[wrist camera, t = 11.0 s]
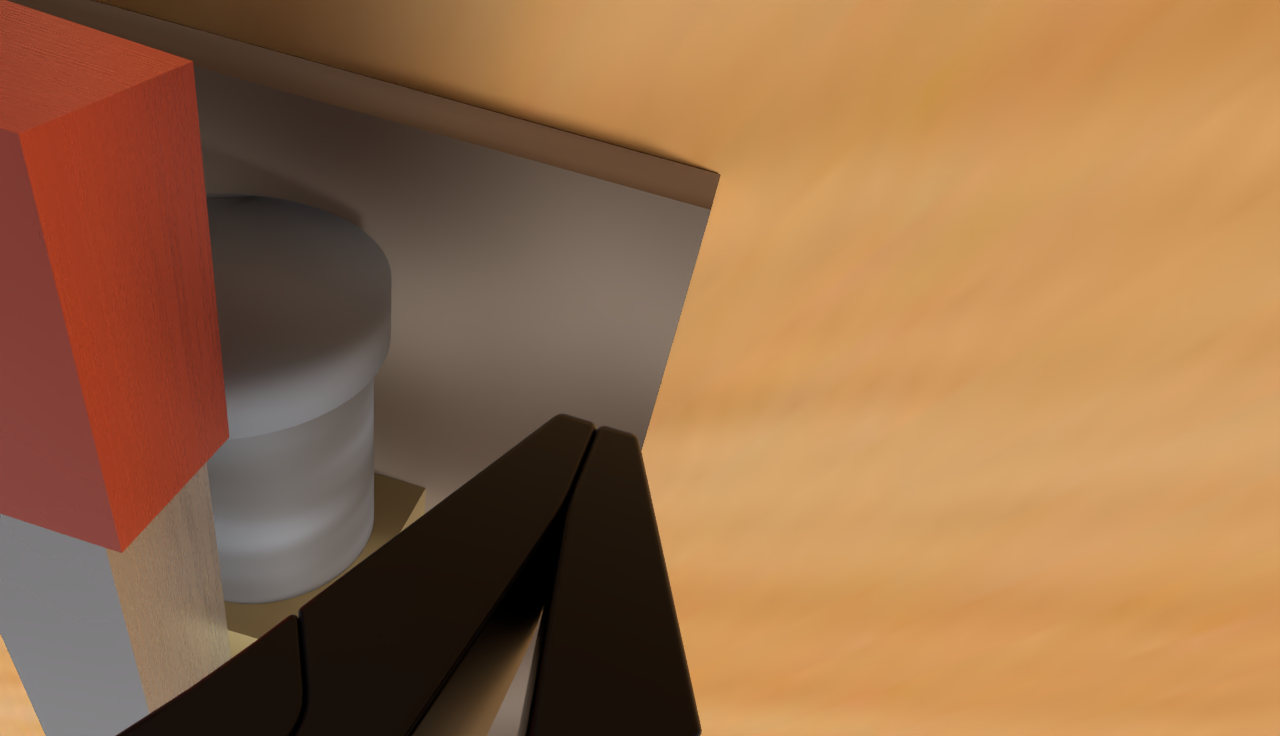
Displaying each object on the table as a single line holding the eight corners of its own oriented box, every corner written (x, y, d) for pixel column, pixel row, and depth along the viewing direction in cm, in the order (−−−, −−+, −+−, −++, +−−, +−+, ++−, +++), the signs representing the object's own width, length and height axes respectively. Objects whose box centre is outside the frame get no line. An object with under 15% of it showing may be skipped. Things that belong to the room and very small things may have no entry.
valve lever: (271, 776, 16) (212, 881, 15) (134, 732, 16) (60, 832, 15) (213, 67, 7) (45, 143, 6) (-94, -33, 7) (-347, 15, 6)
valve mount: (-23, -32, 14) (-502, 66, 9) (720, 174, 14) (659, 397, 9) (178, 673, 29) (37, 865, 24) (545, 783, 28) (483, 1002, 23)
